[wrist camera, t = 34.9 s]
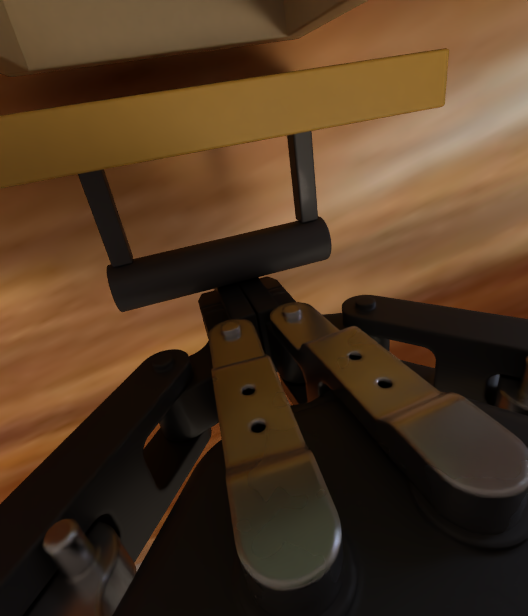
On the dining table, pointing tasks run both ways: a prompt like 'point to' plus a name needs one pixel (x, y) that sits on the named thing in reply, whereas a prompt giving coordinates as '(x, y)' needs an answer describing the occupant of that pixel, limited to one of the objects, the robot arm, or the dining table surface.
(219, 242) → the drawer
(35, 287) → the dining table surface
